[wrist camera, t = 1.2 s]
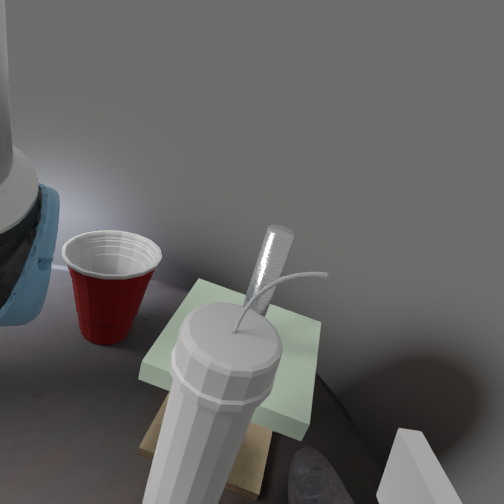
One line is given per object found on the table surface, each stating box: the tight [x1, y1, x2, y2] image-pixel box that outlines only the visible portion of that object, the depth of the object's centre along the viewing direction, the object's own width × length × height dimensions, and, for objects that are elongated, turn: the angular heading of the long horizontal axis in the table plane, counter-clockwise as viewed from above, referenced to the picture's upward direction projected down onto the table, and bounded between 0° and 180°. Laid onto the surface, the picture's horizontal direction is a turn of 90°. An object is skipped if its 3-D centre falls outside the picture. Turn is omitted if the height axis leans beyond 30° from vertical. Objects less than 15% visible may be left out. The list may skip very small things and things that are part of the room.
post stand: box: [138, 225, 294, 501], centre depth 39 cm, size 12×12×24 cm
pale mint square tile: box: [138, 279, 321, 441], centre depth 39 cm, size 14×14×2 cm
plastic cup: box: [61, 230, 162, 345], centre depth 50 cm, size 11×11×12 cm
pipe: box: [142, 272, 329, 504], centre depth 25 cm, size 6×6×30 cm
